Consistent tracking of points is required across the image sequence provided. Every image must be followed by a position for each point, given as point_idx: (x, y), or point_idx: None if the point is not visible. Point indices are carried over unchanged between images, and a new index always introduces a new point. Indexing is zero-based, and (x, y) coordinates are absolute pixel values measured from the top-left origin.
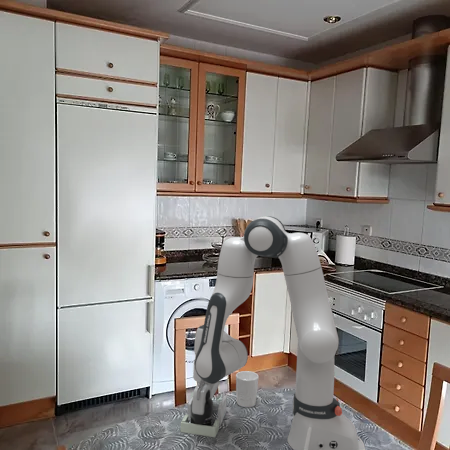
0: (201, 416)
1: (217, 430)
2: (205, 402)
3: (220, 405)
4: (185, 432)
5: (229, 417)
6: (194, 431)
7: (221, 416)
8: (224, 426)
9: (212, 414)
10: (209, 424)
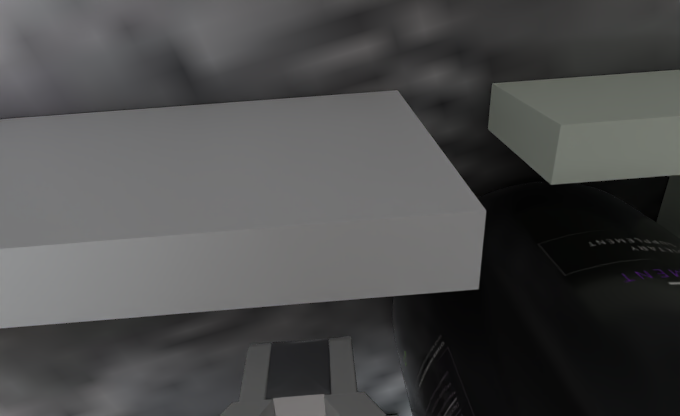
0: None
1: (605, 81)
2: None
3: (296, 276)
4: None
5: (99, 15)
6: None
7: (343, 127)
8: (403, 18)
9: (660, 301)
10: (665, 232)
